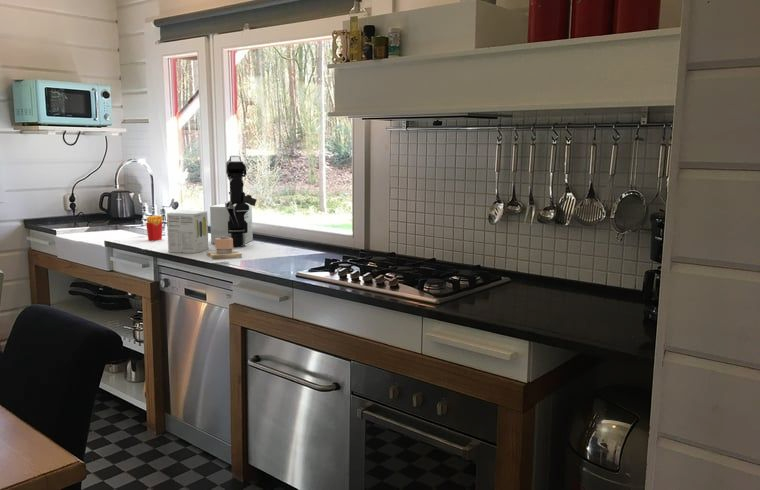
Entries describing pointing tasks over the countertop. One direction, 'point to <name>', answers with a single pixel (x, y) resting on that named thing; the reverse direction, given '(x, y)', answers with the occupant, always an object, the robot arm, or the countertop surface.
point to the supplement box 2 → (220, 223)
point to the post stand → (224, 252)
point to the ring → (224, 243)
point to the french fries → (154, 227)
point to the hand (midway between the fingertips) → (237, 225)
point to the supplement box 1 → (187, 231)
